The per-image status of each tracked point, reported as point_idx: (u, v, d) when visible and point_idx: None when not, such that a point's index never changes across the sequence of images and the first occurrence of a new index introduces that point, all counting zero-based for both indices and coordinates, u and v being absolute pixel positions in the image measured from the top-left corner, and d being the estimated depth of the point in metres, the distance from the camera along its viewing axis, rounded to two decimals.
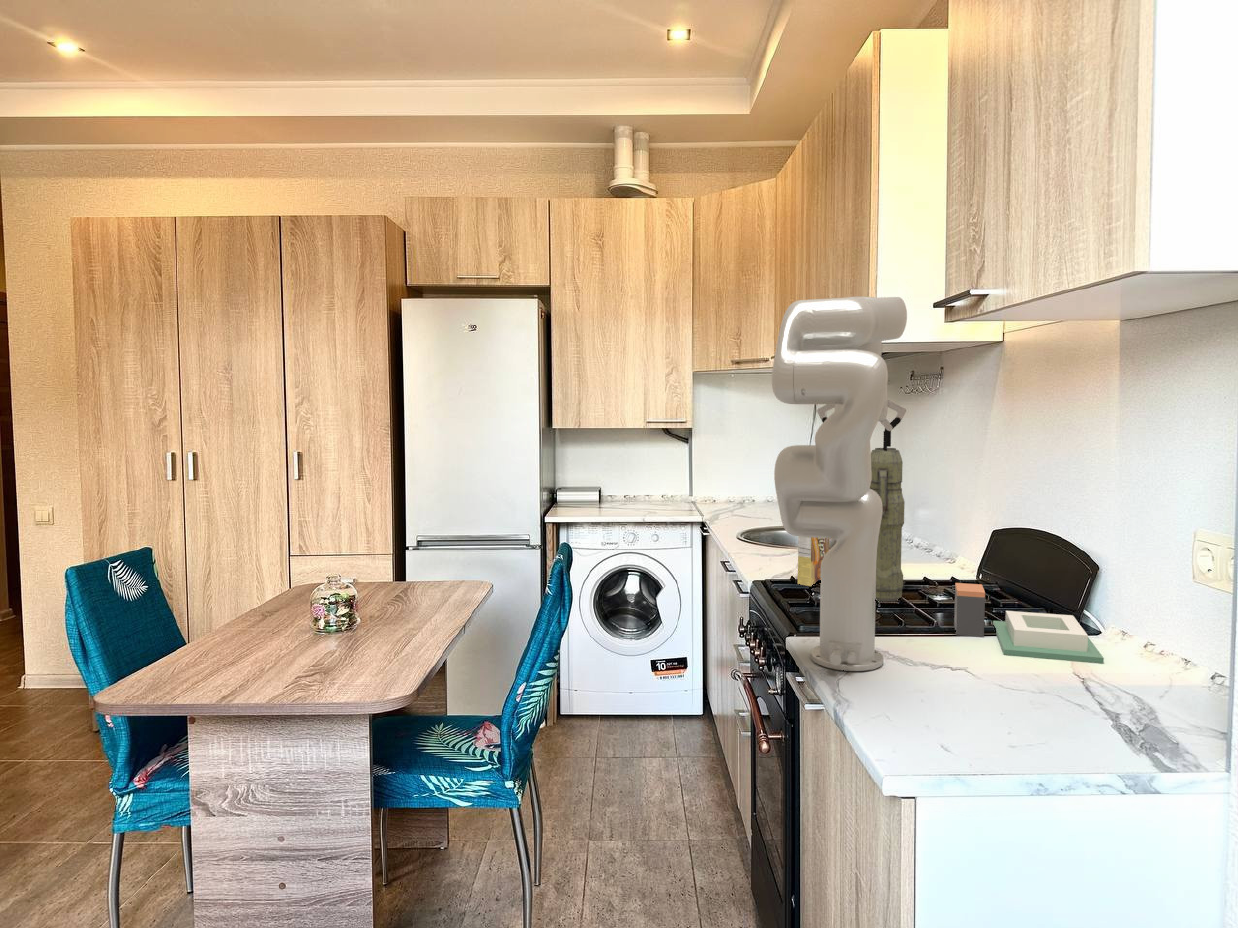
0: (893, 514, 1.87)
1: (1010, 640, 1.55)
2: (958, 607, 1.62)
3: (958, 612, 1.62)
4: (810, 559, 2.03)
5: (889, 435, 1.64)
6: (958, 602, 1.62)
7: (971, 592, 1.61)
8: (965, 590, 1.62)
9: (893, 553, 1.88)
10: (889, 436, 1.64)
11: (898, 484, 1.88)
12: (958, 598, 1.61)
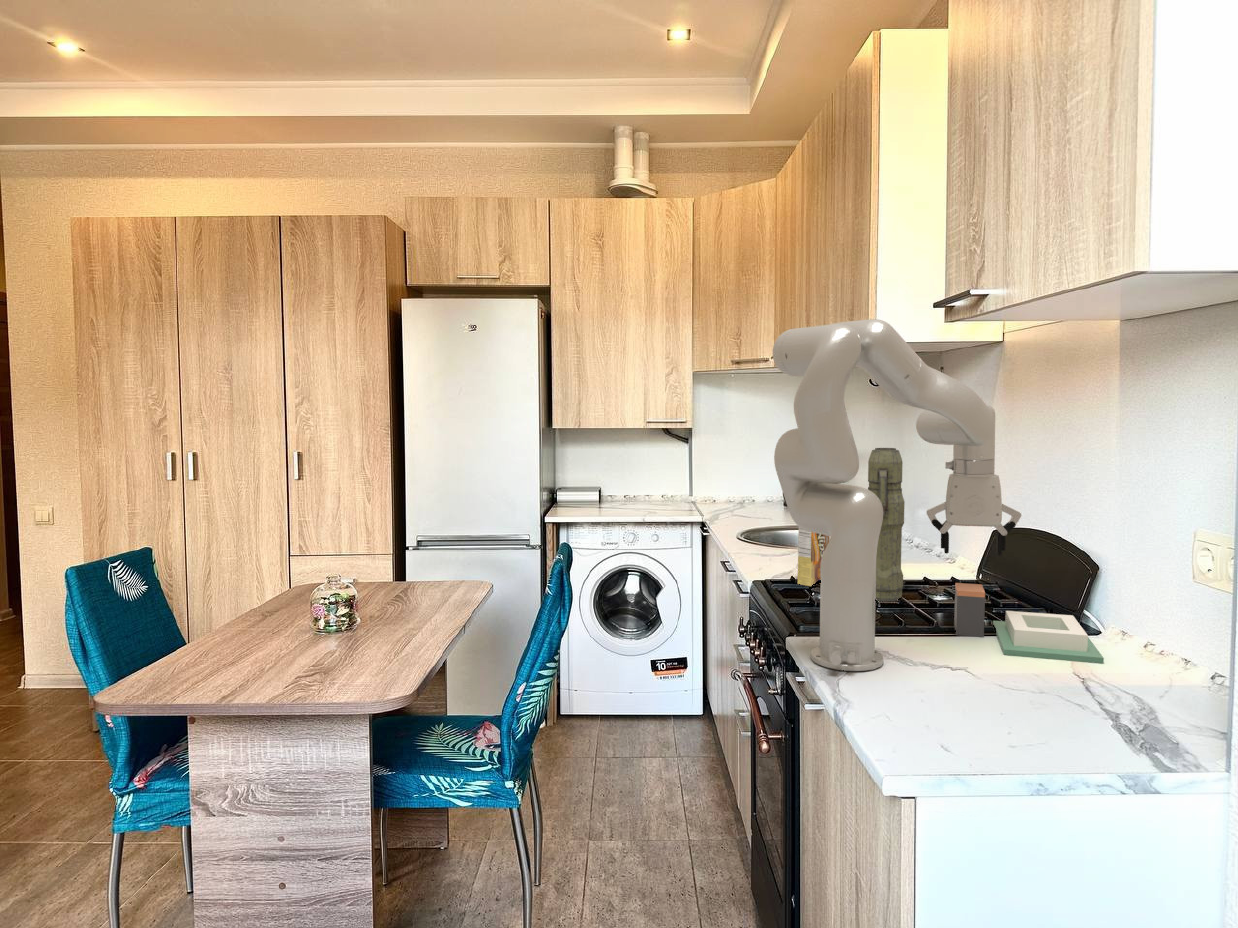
0: (893, 514, 1.87)
1: (1010, 640, 1.55)
2: (958, 607, 1.62)
3: (958, 612, 1.62)
4: (810, 559, 2.03)
5: (1003, 539, 1.61)
6: (958, 602, 1.62)
7: (971, 592, 1.61)
8: (965, 590, 1.62)
9: (893, 553, 1.88)
10: (1003, 540, 1.61)
11: (898, 484, 1.88)
12: (958, 598, 1.61)
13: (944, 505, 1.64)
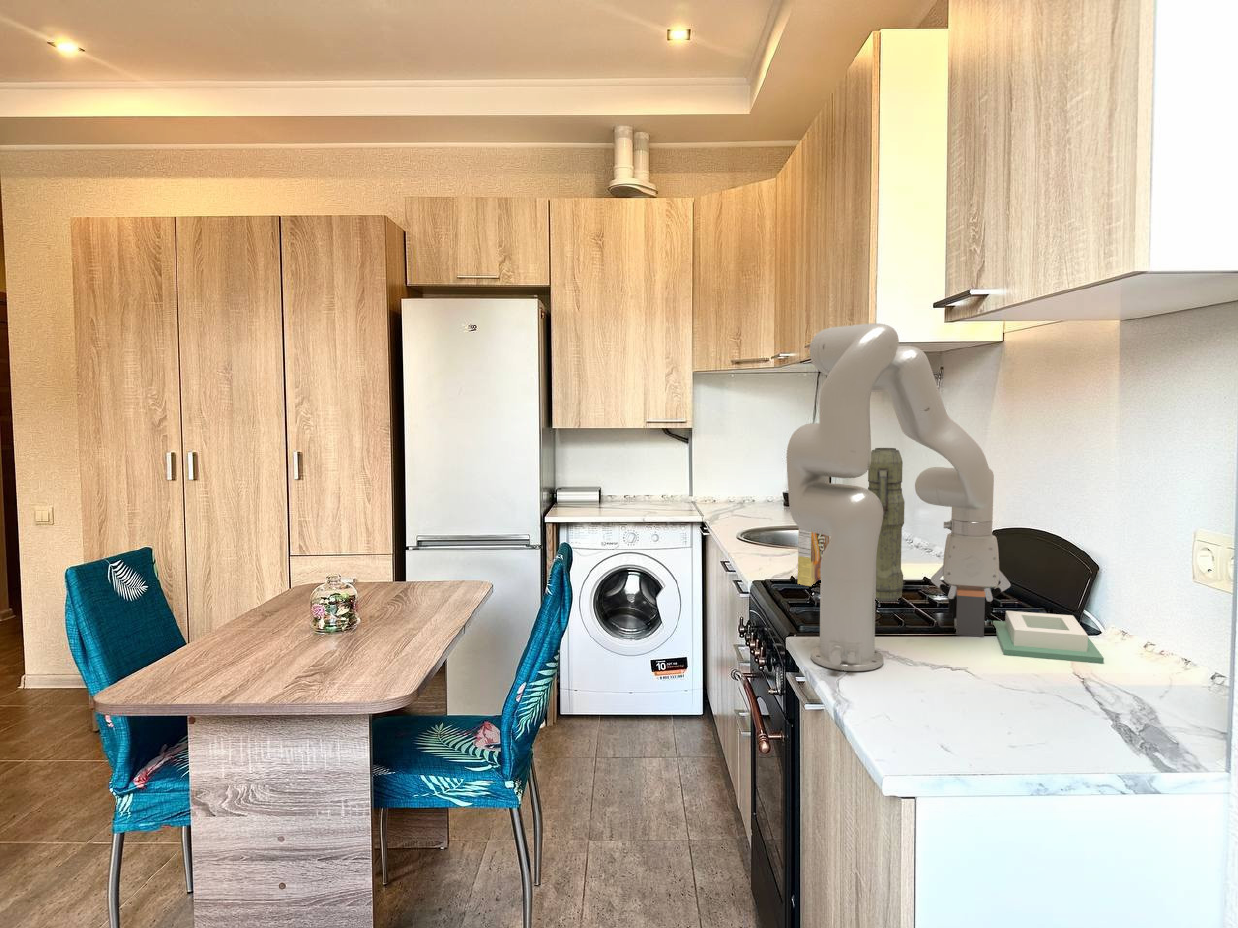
0: (893, 514, 1.87)
1: (1010, 640, 1.55)
2: (958, 607, 1.62)
3: (958, 612, 1.62)
4: (810, 559, 2.03)
5: (989, 605, 1.62)
6: (958, 602, 1.62)
7: (971, 592, 1.61)
8: (965, 590, 1.62)
9: (893, 553, 1.88)
10: (989, 606, 1.62)
11: (898, 484, 1.88)
12: (958, 598, 1.61)
13: None
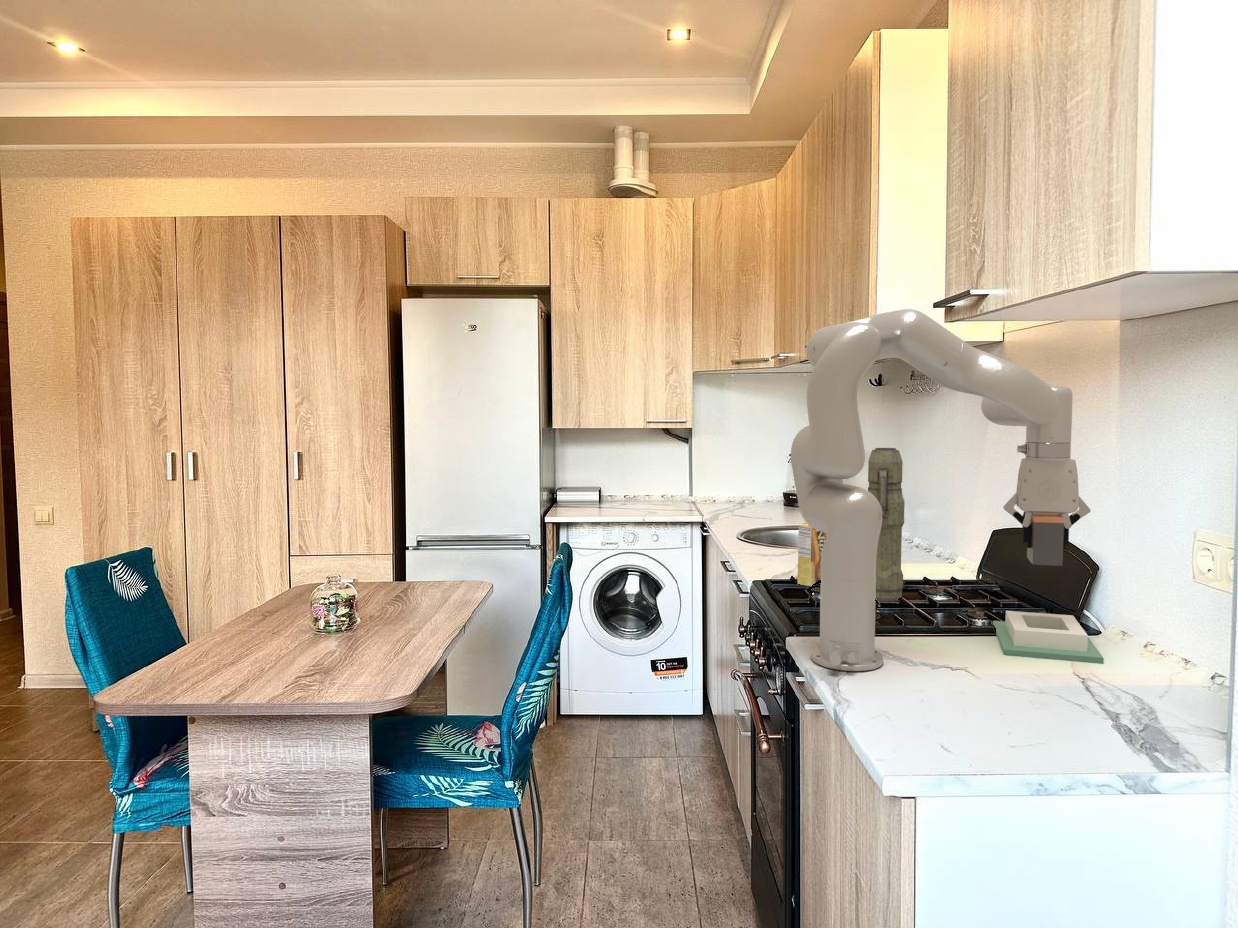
0: (893, 514, 1.87)
1: (1010, 640, 1.55)
2: (1035, 534, 1.53)
3: (1035, 539, 1.53)
4: (810, 559, 2.03)
5: (1067, 532, 1.53)
6: (1035, 529, 1.53)
7: (1049, 518, 1.52)
8: (1042, 516, 1.53)
9: (893, 553, 1.88)
10: (1067, 534, 1.53)
11: (898, 484, 1.88)
12: (1035, 525, 1.52)
13: None
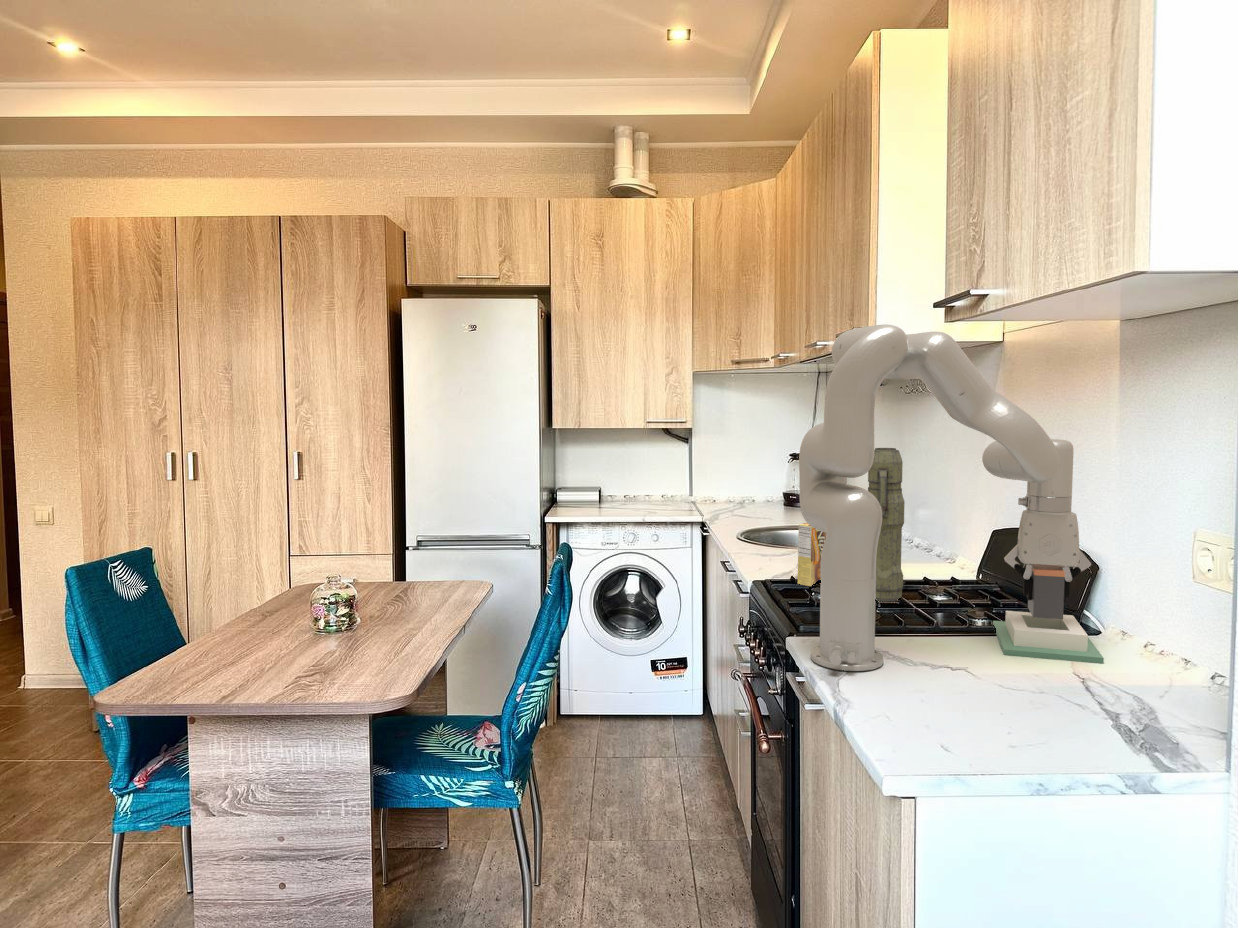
0: (893, 514, 1.87)
1: (1010, 640, 1.55)
2: (1035, 587, 1.53)
3: (1035, 593, 1.53)
4: (810, 559, 2.03)
5: (1067, 585, 1.54)
6: (1035, 582, 1.53)
7: (1049, 571, 1.52)
8: (1043, 569, 1.53)
9: (893, 553, 1.88)
10: (1067, 587, 1.54)
11: (898, 484, 1.88)
12: (1035, 578, 1.53)
13: None
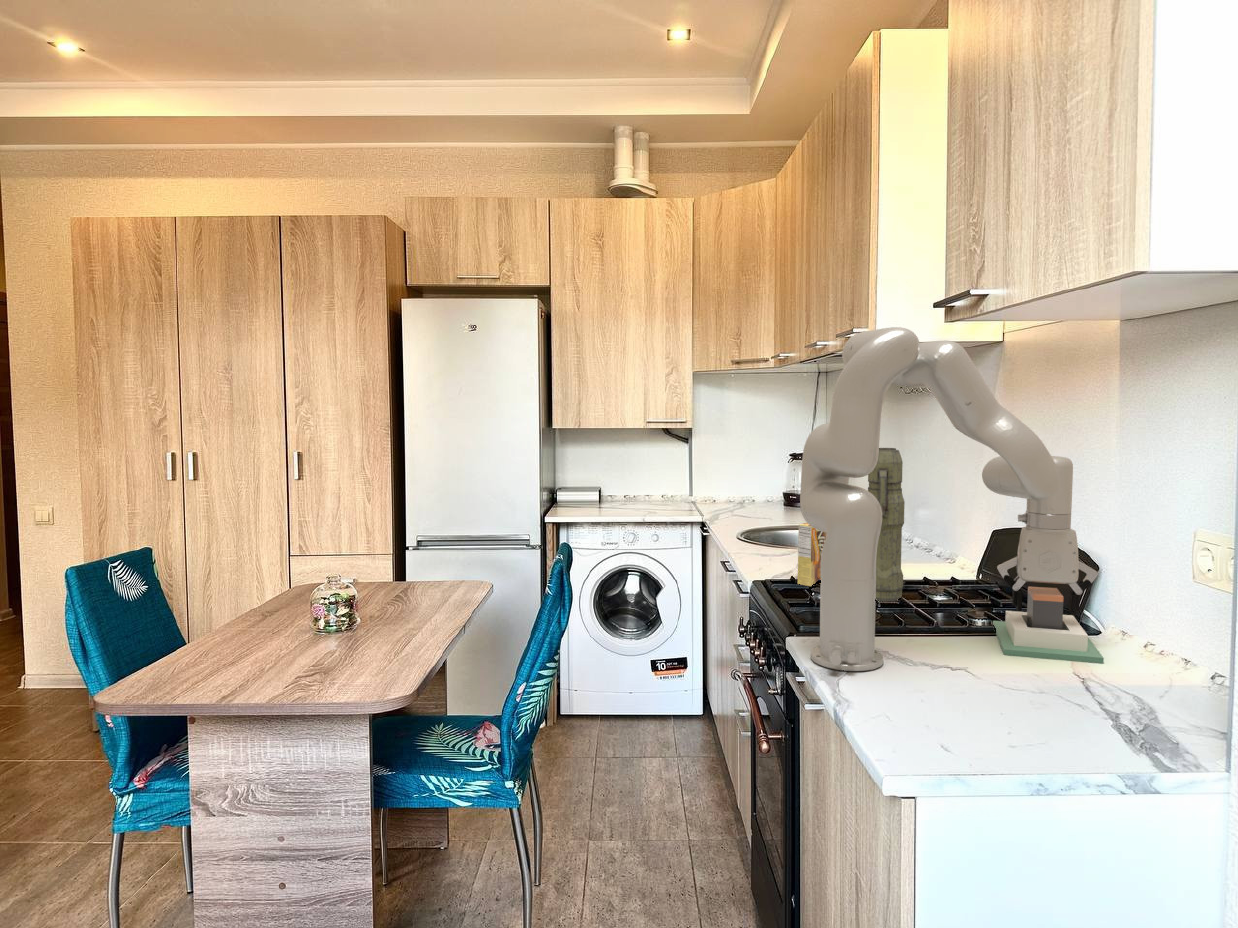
0: (893, 514, 1.87)
1: (1010, 640, 1.55)
2: (1034, 612, 1.54)
3: (1034, 617, 1.54)
4: (810, 559, 2.03)
5: (1078, 598, 1.53)
6: (1034, 607, 1.53)
7: (1048, 596, 1.53)
8: (1041, 594, 1.53)
9: (893, 553, 1.88)
10: (1077, 599, 1.53)
11: (898, 484, 1.88)
12: (1034, 603, 1.53)
13: (1016, 560, 1.56)
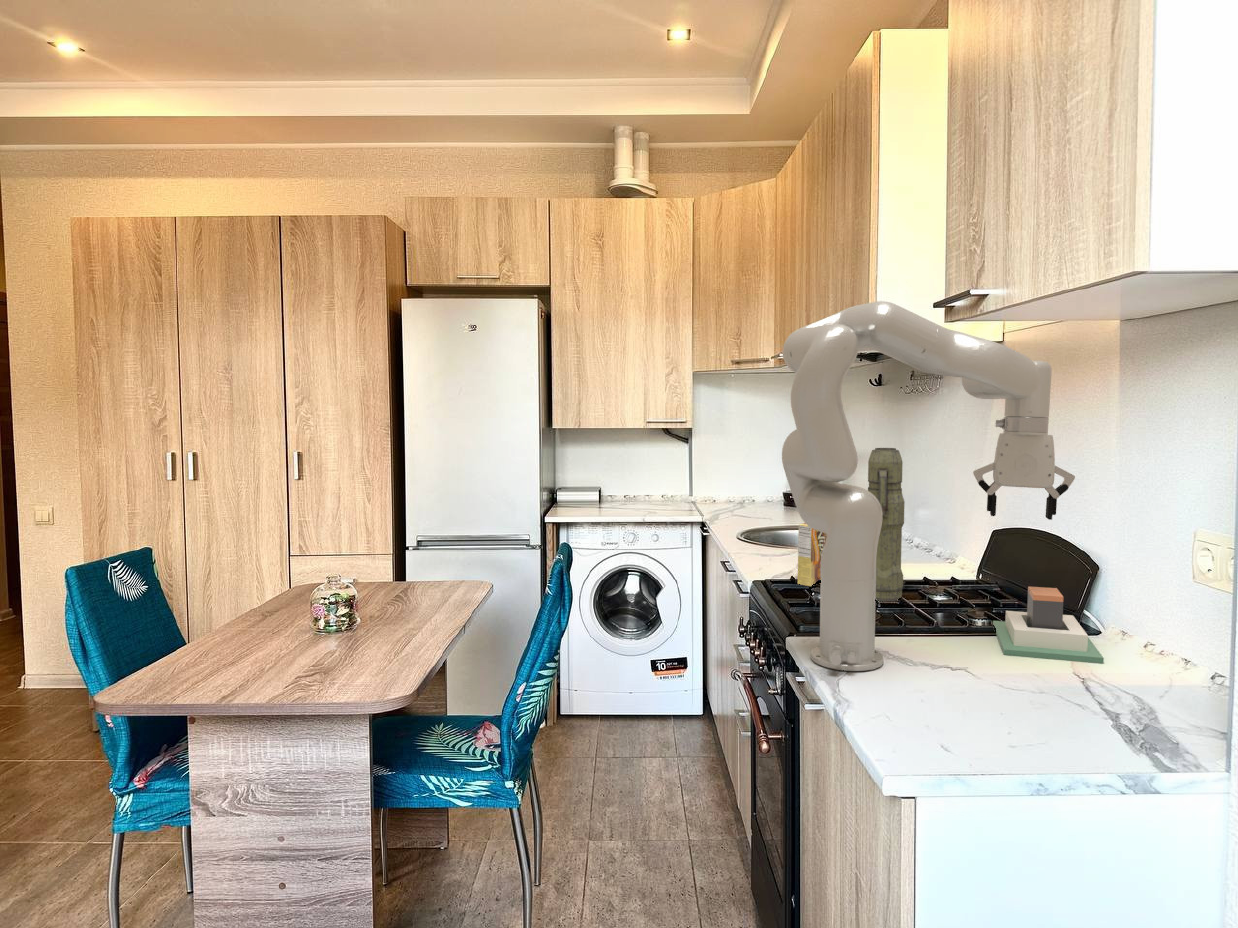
0: (893, 514, 1.87)
1: (1010, 640, 1.55)
2: (1034, 612, 1.54)
3: (1034, 617, 1.54)
4: (810, 559, 2.03)
5: (1055, 503, 1.53)
6: (1034, 607, 1.53)
7: (1048, 596, 1.53)
8: (1041, 594, 1.53)
9: (893, 553, 1.88)
10: (1054, 504, 1.53)
11: (898, 484, 1.88)
12: (1034, 603, 1.53)
13: (992, 465, 1.56)
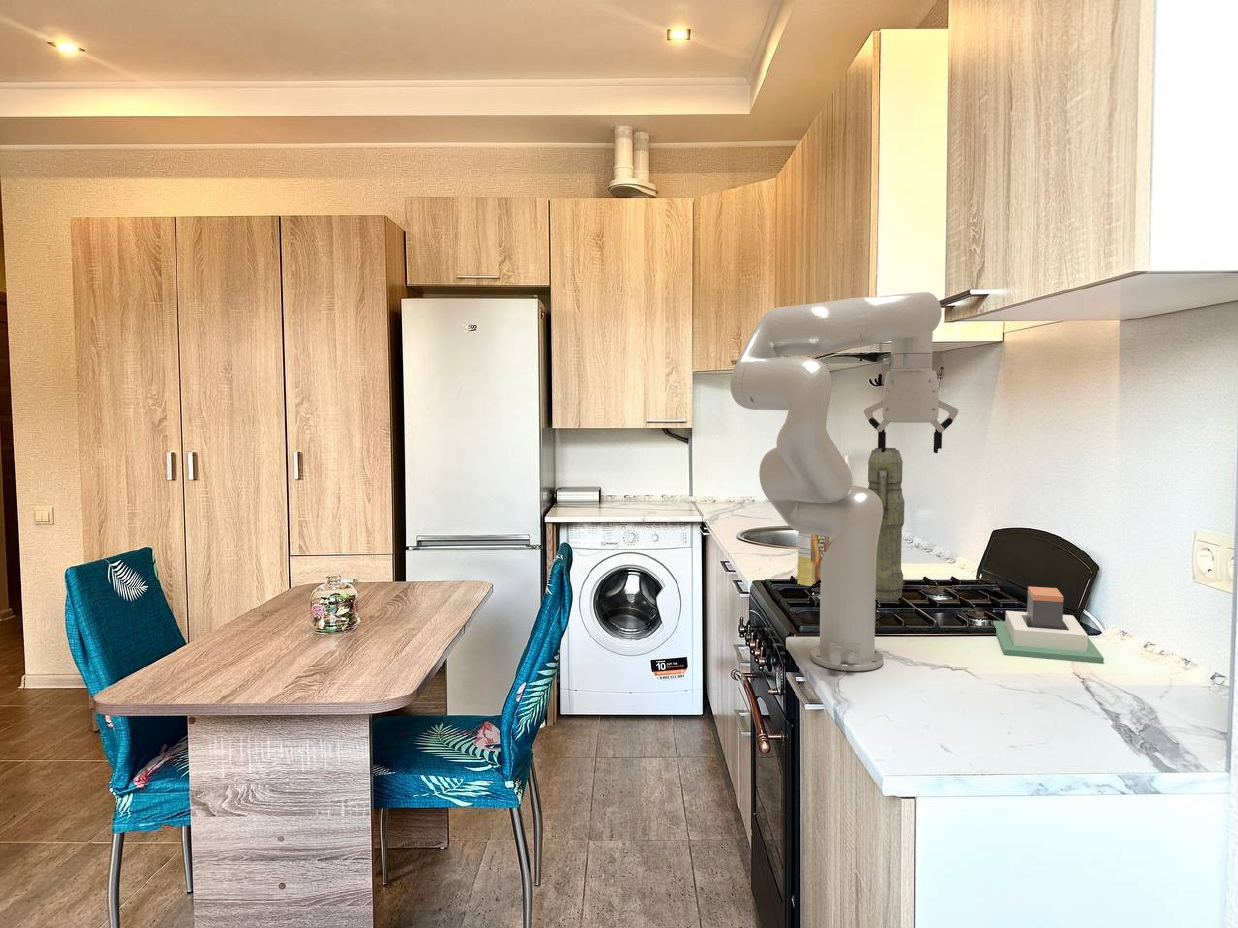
0: (893, 514, 1.87)
1: (1010, 640, 1.55)
2: (1034, 612, 1.54)
3: (1034, 617, 1.54)
4: (810, 559, 2.03)
5: (940, 437, 1.57)
6: (1034, 607, 1.53)
7: (1048, 596, 1.53)
8: (1041, 594, 1.53)
9: (893, 553, 1.88)
10: (940, 438, 1.57)
11: (898, 484, 1.88)
12: (1034, 603, 1.53)
13: (881, 403, 1.60)
